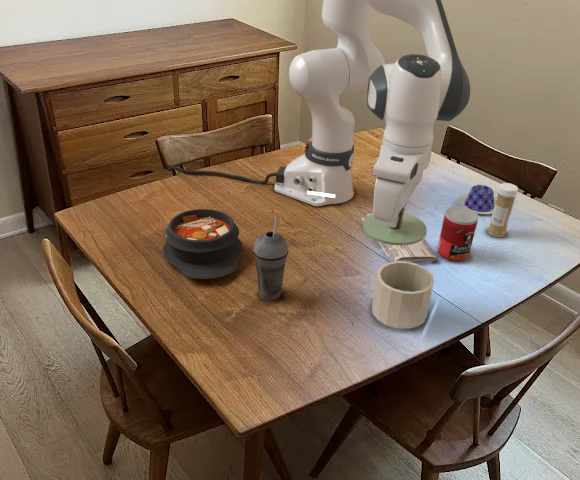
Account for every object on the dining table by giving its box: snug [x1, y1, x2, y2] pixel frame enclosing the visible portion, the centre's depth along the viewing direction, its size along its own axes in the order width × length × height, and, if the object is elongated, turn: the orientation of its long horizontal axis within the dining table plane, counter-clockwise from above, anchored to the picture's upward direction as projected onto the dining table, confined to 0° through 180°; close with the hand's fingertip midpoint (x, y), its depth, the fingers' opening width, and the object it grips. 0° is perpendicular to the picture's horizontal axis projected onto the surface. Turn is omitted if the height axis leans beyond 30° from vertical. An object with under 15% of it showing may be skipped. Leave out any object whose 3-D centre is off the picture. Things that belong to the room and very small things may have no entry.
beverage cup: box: [252, 213, 289, 301], centre depth 125 cm, size 7×7×20 cm
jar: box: [371, 261, 435, 330], centre depth 126 cm, size 11×11×10 cm
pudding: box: [457, 184, 497, 215], centre depth 167 cm, size 12×12×5 cm
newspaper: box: [361, 212, 438, 264], centre depth 151 cm, size 23×12×2 cm, turn 14°
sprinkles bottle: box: [487, 182, 519, 238], centre depth 153 cm, size 5×5×14 cm
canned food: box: [437, 205, 479, 263], centre depth 145 cm, size 8×8×11 cm
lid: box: [361, 207, 428, 245], centre depth 116 cm, size 12×12×5 cm
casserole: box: [162, 208, 244, 280], centre depth 140 cm, size 25×19×8 cm
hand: (395, 221), depth 117 cm, fingers closed on lid, 2 cm apart
